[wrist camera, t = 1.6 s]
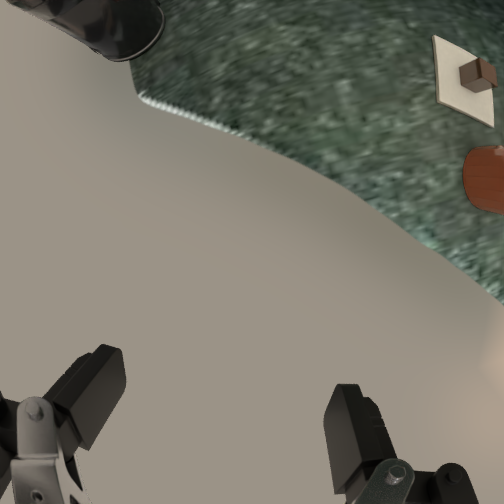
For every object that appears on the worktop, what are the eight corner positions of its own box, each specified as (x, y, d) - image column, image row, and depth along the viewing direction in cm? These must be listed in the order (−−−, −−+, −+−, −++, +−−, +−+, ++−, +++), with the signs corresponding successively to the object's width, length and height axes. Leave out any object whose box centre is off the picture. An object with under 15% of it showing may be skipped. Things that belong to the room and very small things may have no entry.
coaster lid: (431, 36, 22) (452, 21, 17) (485, 65, 22) (508, 56, 17) (436, 102, 25) (462, 92, 20) (490, 128, 25) (517, 125, 19)
